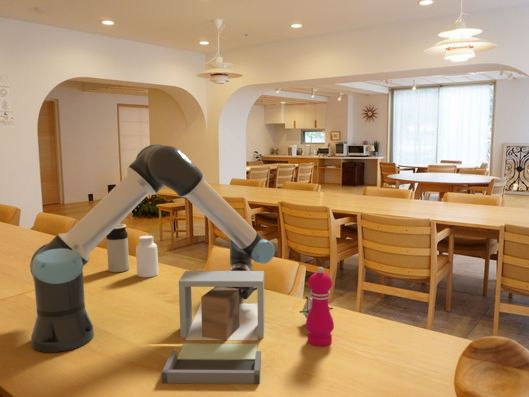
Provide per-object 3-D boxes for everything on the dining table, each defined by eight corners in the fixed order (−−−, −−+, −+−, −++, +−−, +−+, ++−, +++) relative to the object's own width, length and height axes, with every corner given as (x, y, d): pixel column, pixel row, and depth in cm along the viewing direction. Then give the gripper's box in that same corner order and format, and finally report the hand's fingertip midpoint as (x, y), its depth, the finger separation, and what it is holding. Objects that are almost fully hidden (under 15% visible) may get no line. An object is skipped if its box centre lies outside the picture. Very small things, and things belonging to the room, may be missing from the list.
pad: (186, 338, 124) (186, 336, 124) (257, 338, 123) (257, 337, 123) (177, 360, 112) (177, 358, 112) (256, 361, 112) (255, 359, 111)
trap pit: (172, 360, 112) (171, 350, 112) (261, 360, 112) (260, 351, 111) (162, 383, 102) (161, 372, 102) (259, 383, 101) (259, 373, 101)
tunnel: (196, 305, 148) (194, 256, 145) (265, 305, 147) (265, 256, 145) (179, 341, 122) (177, 283, 120) (263, 342, 121) (262, 283, 119)
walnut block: (216, 323, 132) (215, 286, 130) (239, 326, 130) (238, 288, 128) (202, 336, 124) (201, 296, 122) (226, 340, 121) (225, 299, 120)
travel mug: (133, 269, 187) (131, 225, 185) (117, 274, 181) (115, 228, 178) (120, 266, 192) (117, 223, 189) (104, 270, 185) (101, 226, 182)
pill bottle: (132, 276, 177) (130, 238, 175) (145, 270, 185) (144, 233, 182) (150, 279, 174) (148, 239, 172) (162, 273, 182) (161, 235, 180)
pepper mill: (315, 349, 117) (316, 272, 114) (300, 338, 124) (300, 265, 121) (339, 343, 120) (340, 268, 118) (323, 332, 127) (324, 261, 124)
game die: (321, 338, 132) (331, 319, 125) (293, 325, 133) (301, 306, 127) (329, 313, 139) (339, 294, 132) (302, 301, 140) (311, 282, 133)
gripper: (258, 288, 154) (256, 317, 130) (219, 288, 154) (209, 317, 131) (258, 266, 153) (255, 291, 129) (218, 266, 153) (209, 291, 129)
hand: (232, 304), depth 130 cm, fingers closed
